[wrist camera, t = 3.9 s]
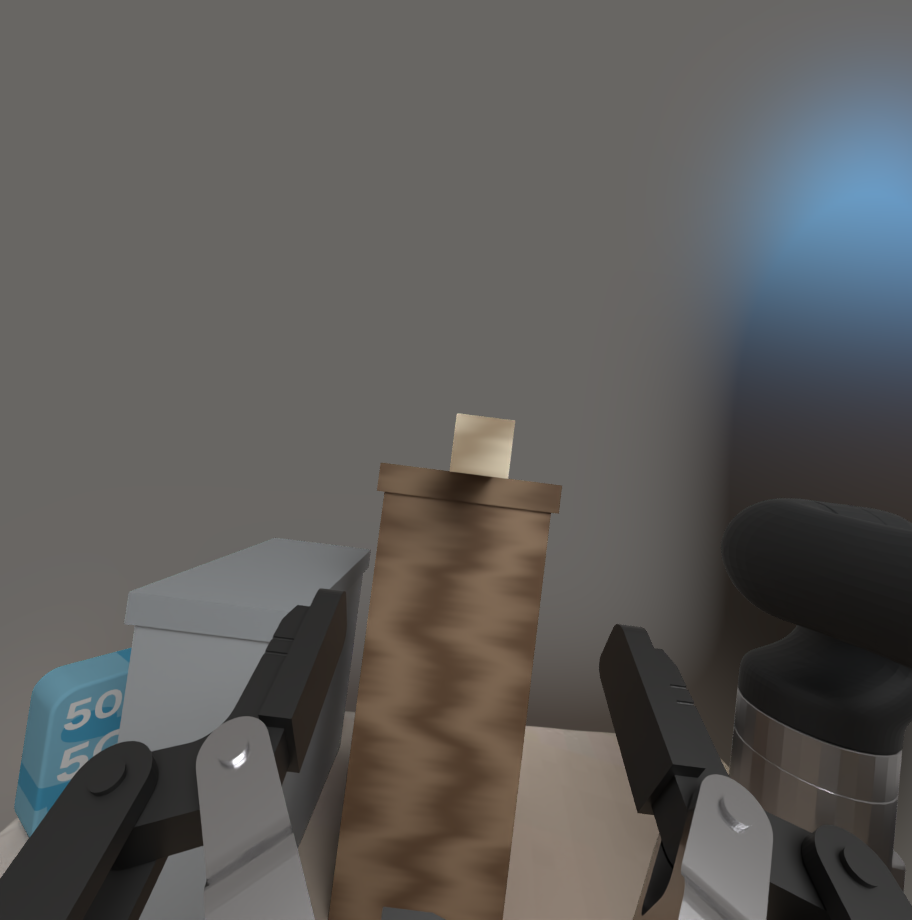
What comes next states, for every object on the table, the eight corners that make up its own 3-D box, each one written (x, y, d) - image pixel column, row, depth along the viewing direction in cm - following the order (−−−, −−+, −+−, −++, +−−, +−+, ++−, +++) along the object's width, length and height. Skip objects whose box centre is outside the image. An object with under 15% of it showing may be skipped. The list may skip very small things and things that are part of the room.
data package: (28, 859, 29) (53, 694, 29) (10, 825, 31) (34, 672, 32) (200, 765, 39) (217, 644, 40) (177, 745, 42) (194, 630, 42)
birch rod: (479, 475, 42) (482, 447, 42) (507, 478, 20) (515, 420, 20) (451, 471, 42) (454, 443, 42) (449, 471, 20) (457, 413, 20)
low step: (345, 744, 45) (370, 549, 45) (254, 975, 24) (303, 613, 25) (247, 732, 45) (275, 537, 45) (74, 953, 24) (128, 591, 25)
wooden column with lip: (486, 768, 44) (521, 480, 45) (507, 947, 27) (561, 485, 28) (369, 754, 44) (407, 466, 45) (319, 925, 27) (380, 462, 28)
